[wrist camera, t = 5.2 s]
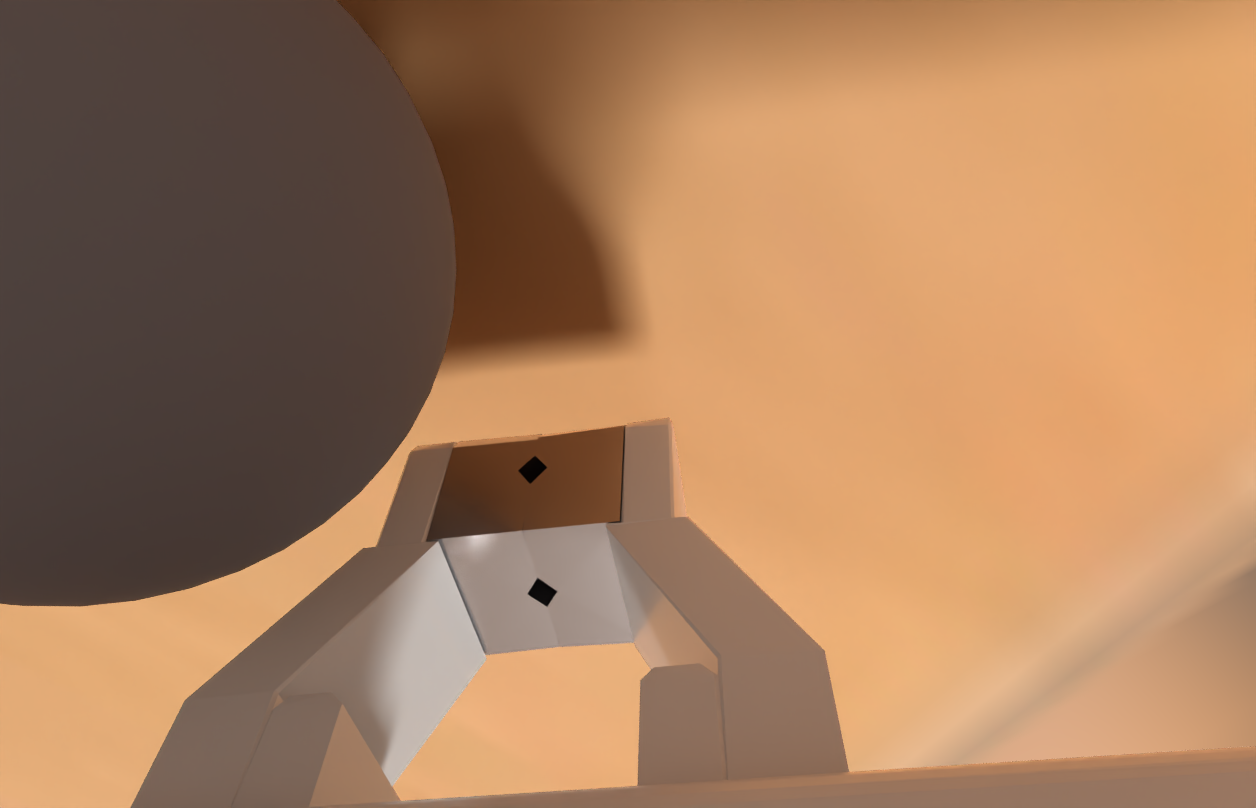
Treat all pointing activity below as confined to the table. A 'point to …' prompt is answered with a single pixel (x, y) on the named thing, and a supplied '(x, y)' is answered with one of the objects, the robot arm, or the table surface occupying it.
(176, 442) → the grey ball
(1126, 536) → the table surface
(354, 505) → the table surface
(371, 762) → the robot arm
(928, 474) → the table surface
